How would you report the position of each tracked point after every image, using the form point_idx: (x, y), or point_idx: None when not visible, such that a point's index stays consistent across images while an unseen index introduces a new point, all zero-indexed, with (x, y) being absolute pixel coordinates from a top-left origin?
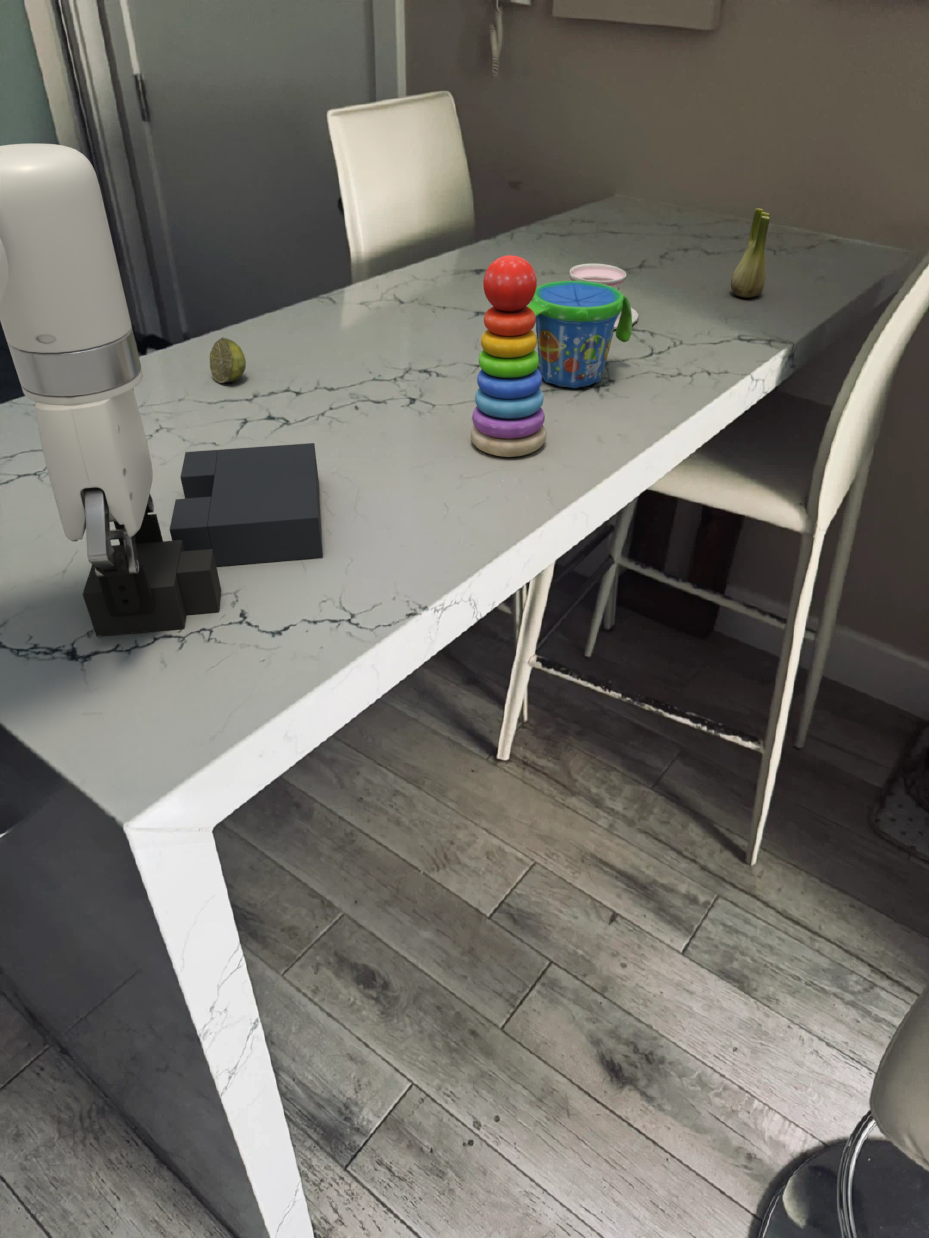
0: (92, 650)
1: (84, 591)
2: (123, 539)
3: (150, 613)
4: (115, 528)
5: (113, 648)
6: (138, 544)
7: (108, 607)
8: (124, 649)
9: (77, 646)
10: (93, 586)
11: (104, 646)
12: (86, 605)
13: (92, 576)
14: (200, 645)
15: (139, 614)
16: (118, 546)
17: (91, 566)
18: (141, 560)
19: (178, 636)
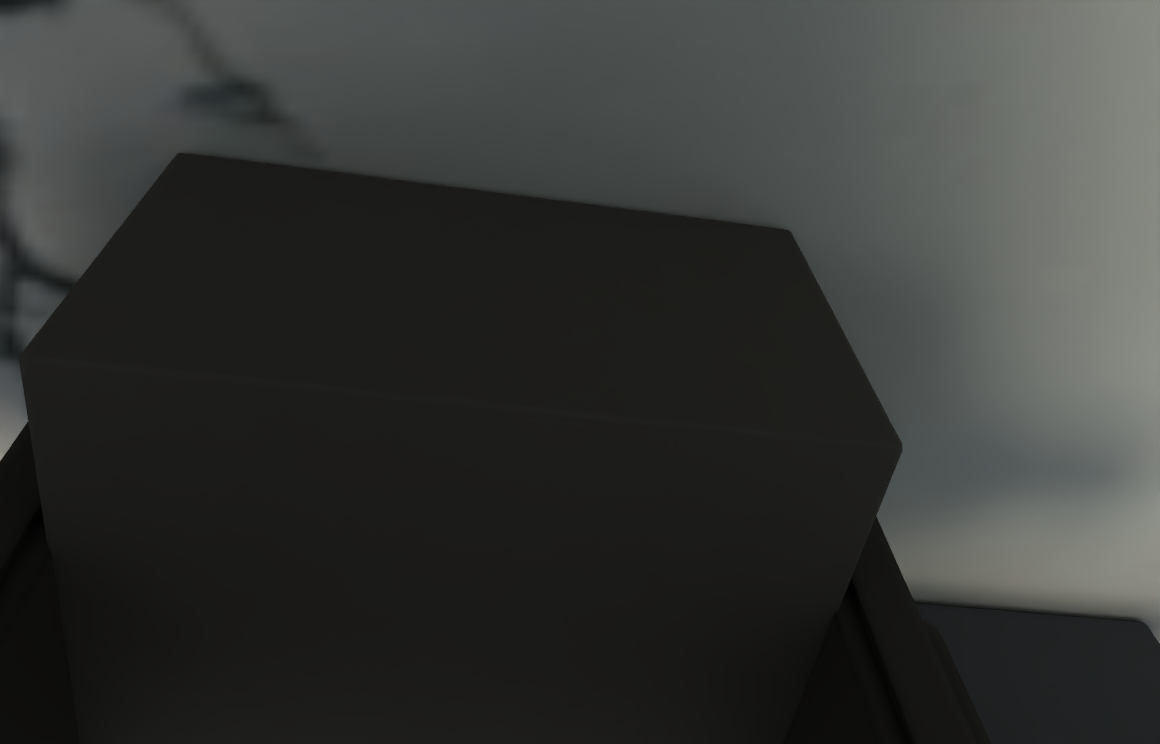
0: (19, 124)
1: (67, 372)
2: (843, 677)
3: None
4: (914, 742)
5: (37, 259)
6: (780, 714)
7: (6, 462)
8: (22, 323)
9: (77, 13)
10: (153, 442)
11: (64, 203)
12: (76, 287)
13: (339, 429)
14: None
15: None
16: (814, 599)
17: (539, 411)
18: (507, 741)
19: None
